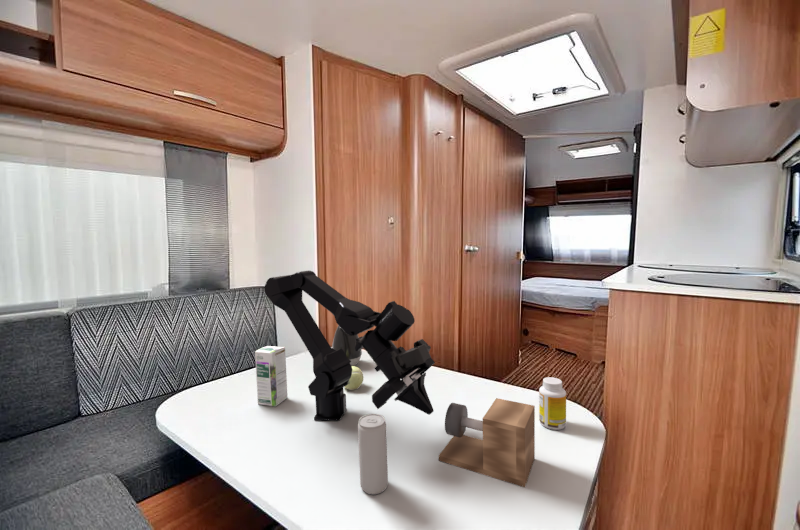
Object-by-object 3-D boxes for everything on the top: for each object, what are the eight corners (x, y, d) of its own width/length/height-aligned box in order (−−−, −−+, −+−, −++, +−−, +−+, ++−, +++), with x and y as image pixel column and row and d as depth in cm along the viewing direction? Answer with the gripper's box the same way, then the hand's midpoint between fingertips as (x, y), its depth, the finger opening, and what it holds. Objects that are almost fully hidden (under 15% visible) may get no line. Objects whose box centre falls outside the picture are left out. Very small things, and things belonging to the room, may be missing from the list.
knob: (445, 440, 70) (444, 410, 69) (456, 425, 75) (455, 397, 75) (488, 452, 66) (487, 420, 65) (497, 436, 71) (496, 406, 70)
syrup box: (256, 404, 95) (253, 351, 94) (271, 395, 101) (268, 344, 100) (275, 407, 94) (271, 352, 92) (288, 397, 99) (285, 345, 98)
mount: (438, 460, 69) (437, 407, 68) (455, 437, 77) (455, 389, 76) (525, 487, 61) (524, 428, 60) (534, 458, 69) (534, 405, 68)
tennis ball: (337, 364, 105) (350, 370, 100) (355, 362, 109) (369, 367, 104) (335, 387, 104) (348, 393, 99) (354, 383, 109) (367, 389, 104)
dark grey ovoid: (327, 370, 119) (325, 325, 117) (338, 359, 129) (336, 317, 128) (357, 371, 117) (355, 325, 116) (365, 360, 127) (363, 318, 126)
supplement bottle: (571, 425, 80) (571, 381, 79) (556, 434, 77) (556, 387, 76) (548, 415, 85) (549, 373, 84) (534, 423, 82) (533, 379, 81)
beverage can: (384, 498, 60) (381, 428, 59) (356, 494, 61) (353, 426, 60) (390, 478, 64) (388, 414, 64) (365, 476, 65) (362, 412, 64)
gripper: (382, 342, 68) (437, 411, 63) (426, 321, 84) (472, 375, 79) (351, 376, 72) (400, 443, 68) (398, 349, 88) (440, 402, 84)
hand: (431, 412), depth 74 cm, fingers closed
